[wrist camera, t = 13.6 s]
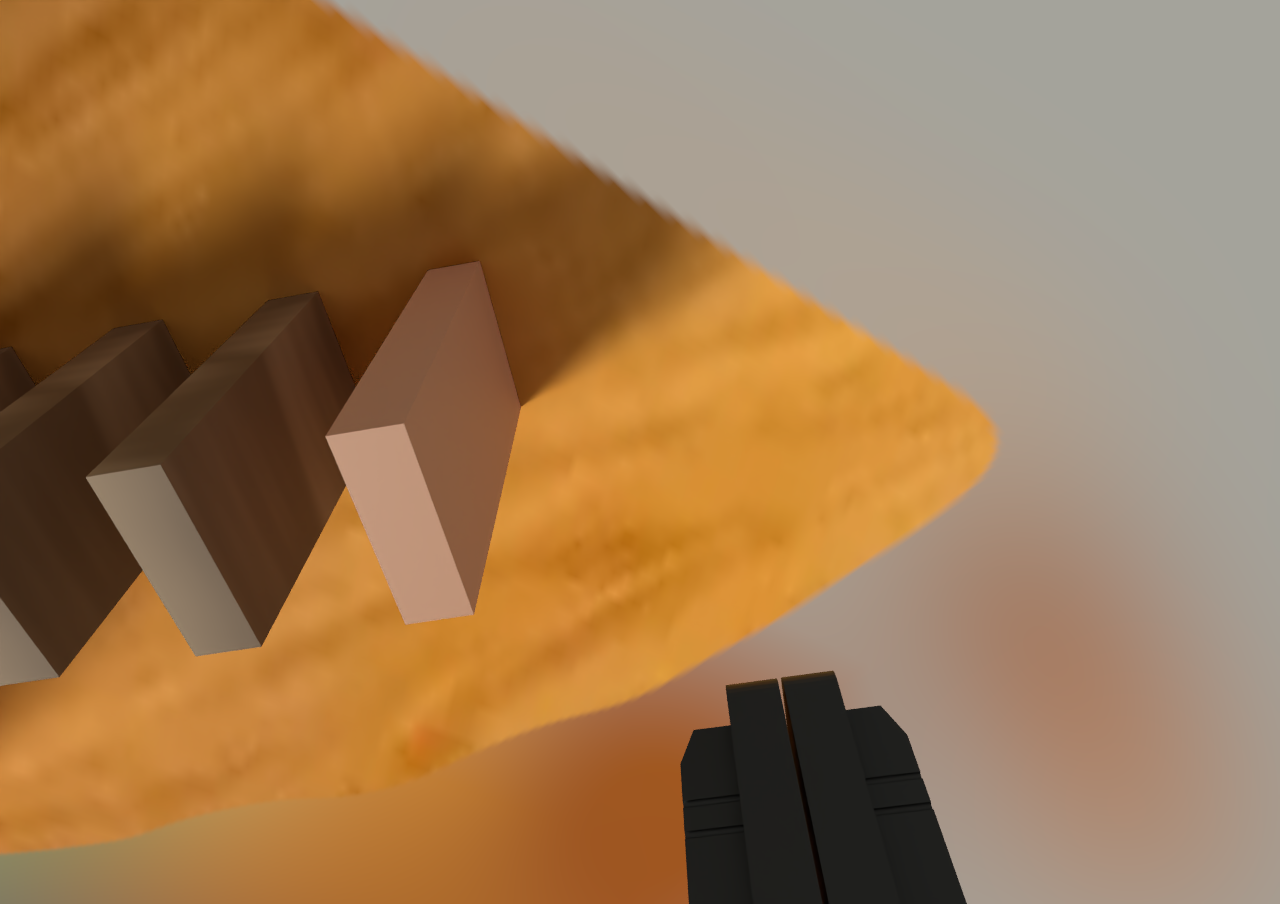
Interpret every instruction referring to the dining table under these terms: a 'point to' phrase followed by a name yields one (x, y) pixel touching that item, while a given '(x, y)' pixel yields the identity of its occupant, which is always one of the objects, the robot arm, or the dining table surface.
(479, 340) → the domino end
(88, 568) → the domino
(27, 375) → the domino
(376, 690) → the dining table surface
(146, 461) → the domino
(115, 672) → the dining table surface
